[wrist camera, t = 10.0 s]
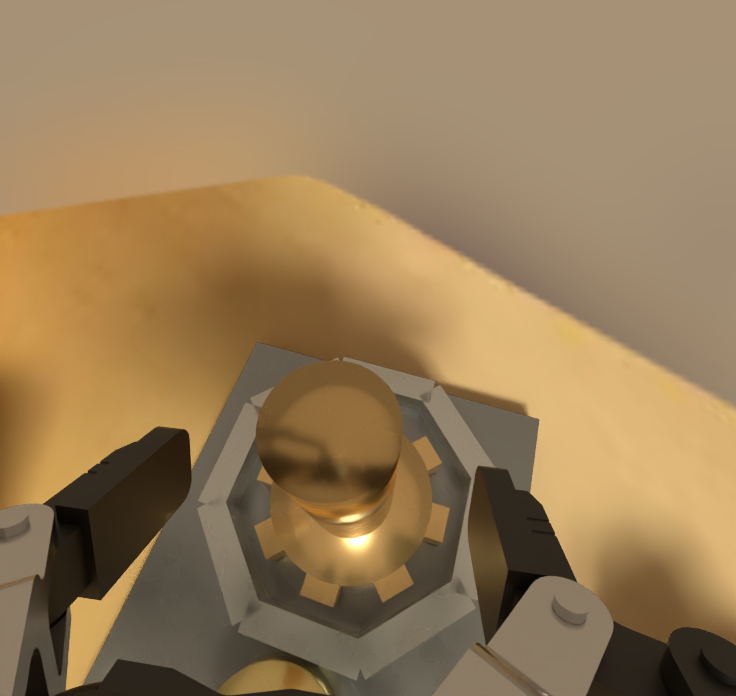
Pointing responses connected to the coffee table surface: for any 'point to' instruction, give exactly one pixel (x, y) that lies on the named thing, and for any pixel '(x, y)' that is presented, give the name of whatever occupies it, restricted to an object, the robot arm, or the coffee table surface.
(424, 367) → the coffee table surface
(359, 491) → the gear
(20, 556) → the robot arm
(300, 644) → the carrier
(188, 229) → the coffee table surface
